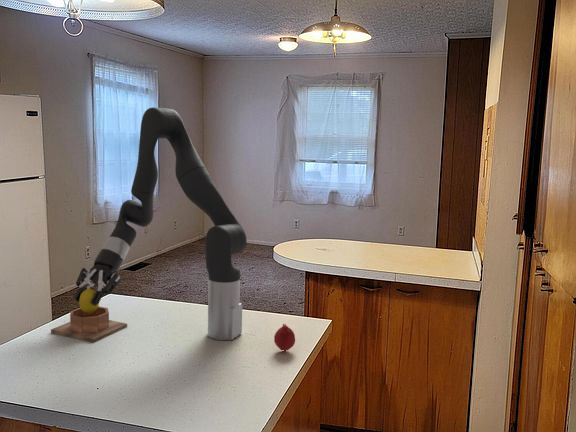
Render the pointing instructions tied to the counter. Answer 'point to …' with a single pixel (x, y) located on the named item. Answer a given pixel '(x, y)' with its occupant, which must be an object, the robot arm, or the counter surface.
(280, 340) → the onion
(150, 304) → the counter surface
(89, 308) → the lemon
